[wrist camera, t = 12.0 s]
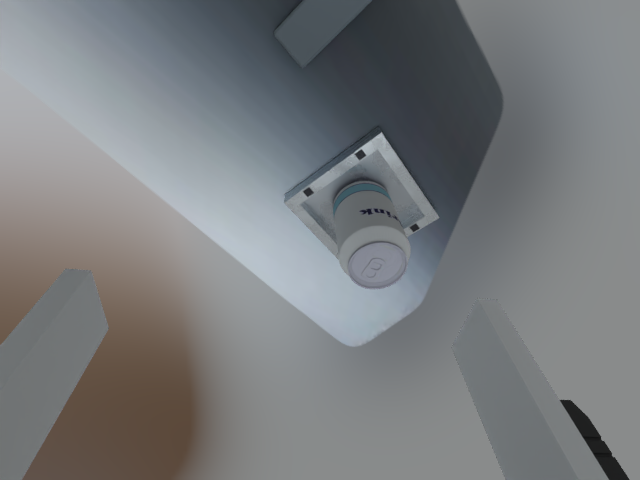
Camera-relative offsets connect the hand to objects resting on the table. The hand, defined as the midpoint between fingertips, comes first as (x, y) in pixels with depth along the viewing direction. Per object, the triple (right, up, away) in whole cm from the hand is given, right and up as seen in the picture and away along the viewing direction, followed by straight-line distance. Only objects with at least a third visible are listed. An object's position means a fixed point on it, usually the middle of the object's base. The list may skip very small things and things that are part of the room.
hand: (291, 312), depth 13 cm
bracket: (+2, +24, +19) cm, 31 cm away
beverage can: (+6, +7, +30) cm, 32 cm away
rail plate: (+6, +7, +30) cm, 32 cm away
